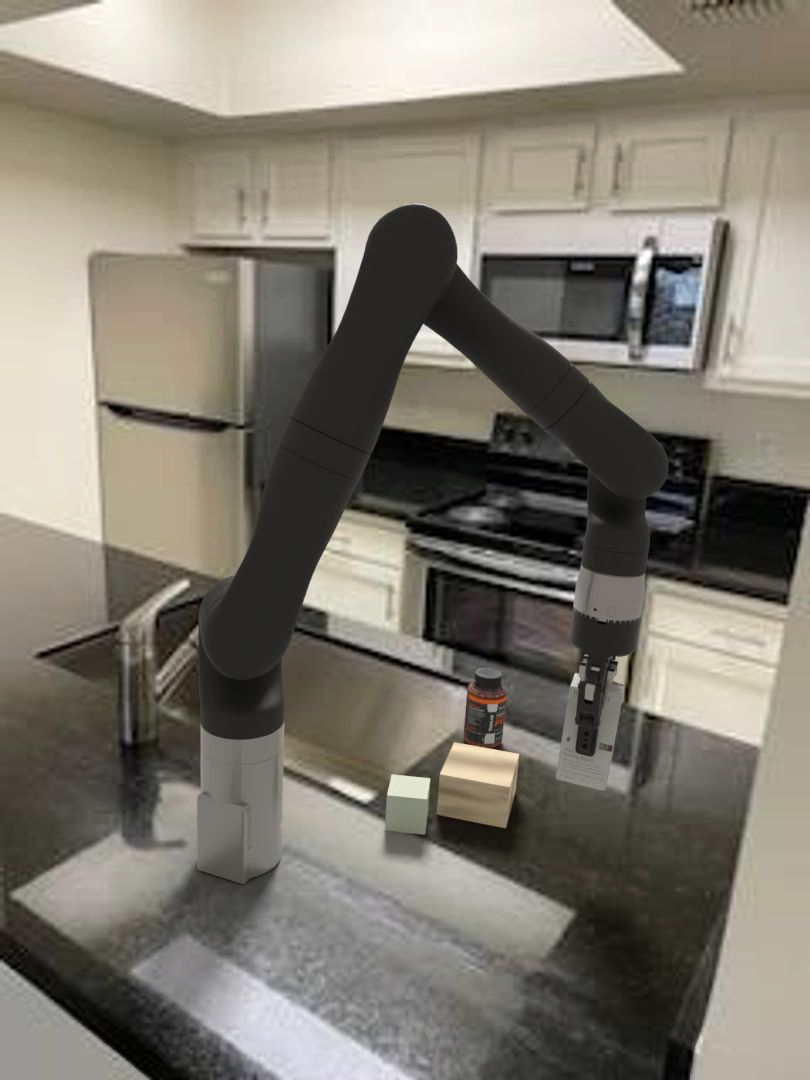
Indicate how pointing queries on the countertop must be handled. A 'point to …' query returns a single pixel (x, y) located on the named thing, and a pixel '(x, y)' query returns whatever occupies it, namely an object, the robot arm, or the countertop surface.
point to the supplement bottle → (485, 709)
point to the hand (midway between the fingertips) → (588, 744)
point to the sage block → (407, 804)
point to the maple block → (478, 784)
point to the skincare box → (598, 765)
